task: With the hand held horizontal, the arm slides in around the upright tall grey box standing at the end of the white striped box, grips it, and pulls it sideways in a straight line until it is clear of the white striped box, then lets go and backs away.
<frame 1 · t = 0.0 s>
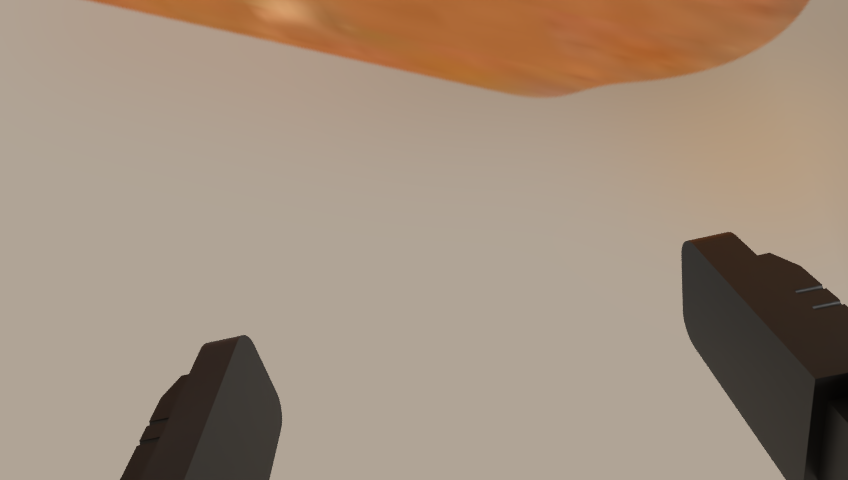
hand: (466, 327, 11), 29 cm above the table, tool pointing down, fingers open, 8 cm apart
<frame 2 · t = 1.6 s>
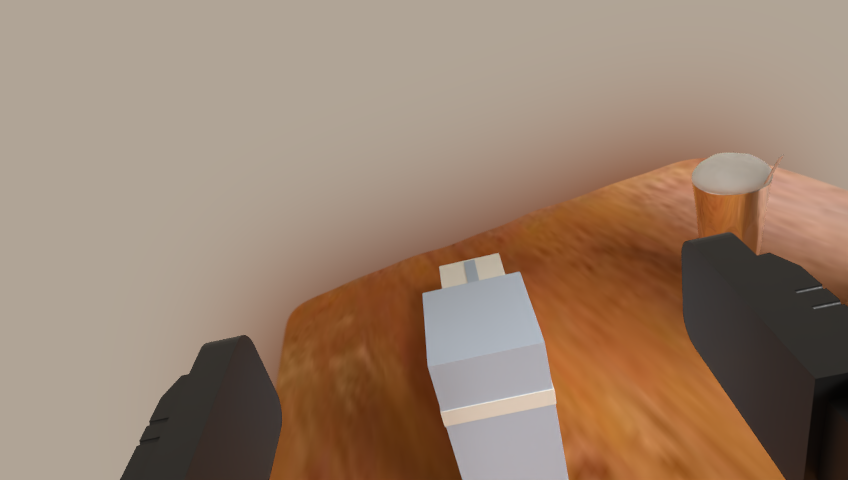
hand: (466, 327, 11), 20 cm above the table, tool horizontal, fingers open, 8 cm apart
milkshake: (734, 283, 41), on the table
tall grey box: (501, 417, 27), point 6 cm above the table, slide at 0.0 cm
white striped box: (486, 341, 38), on the table
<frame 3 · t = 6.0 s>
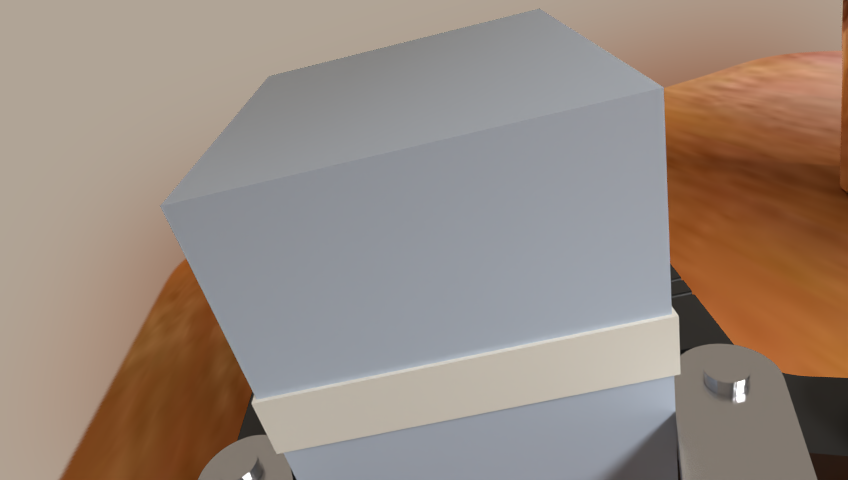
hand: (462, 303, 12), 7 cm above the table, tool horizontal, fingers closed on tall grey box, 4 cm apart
tall grey box: (487, 421, 10), point 6 cm above the table, slide at 0.0 cm, touching gripper
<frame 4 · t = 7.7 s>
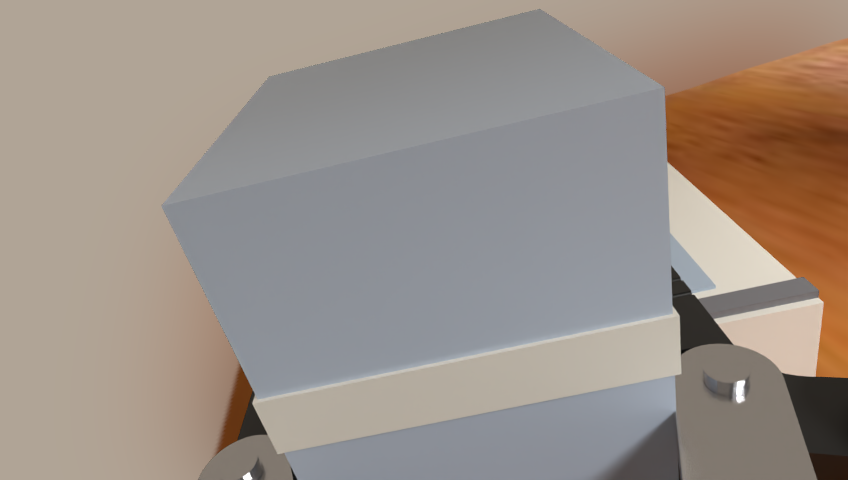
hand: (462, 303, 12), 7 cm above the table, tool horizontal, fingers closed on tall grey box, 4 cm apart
tall grey box: (488, 421, 10), point 6 cm above the table, slide at 5.7 cm, touching gripper
white striped box: (630, 250, 21), on the table
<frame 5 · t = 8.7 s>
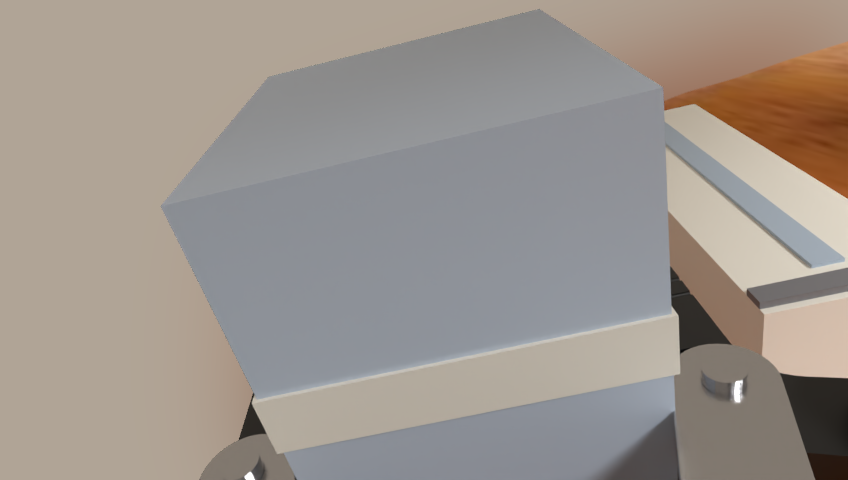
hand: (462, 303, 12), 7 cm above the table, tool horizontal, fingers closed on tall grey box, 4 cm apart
tall grey box: (487, 421, 10), point 6 cm above the table, slide at 8.9 cm, touching gripper
white striped box: (722, 230, 20), on the table
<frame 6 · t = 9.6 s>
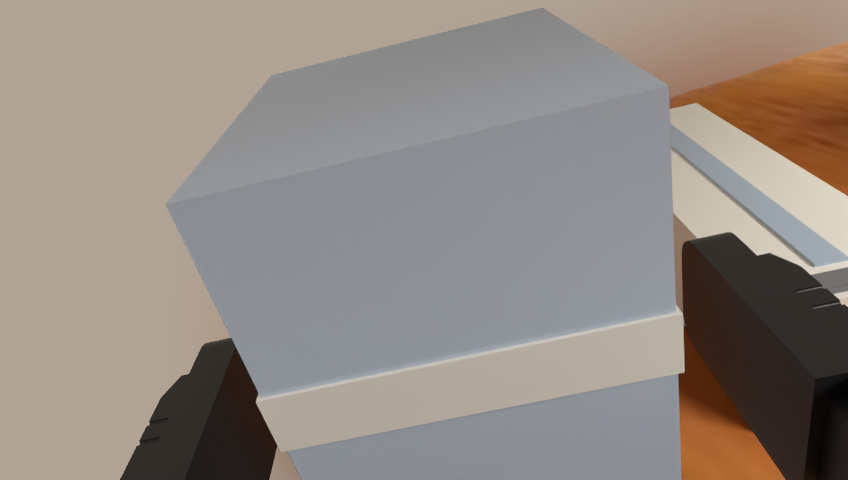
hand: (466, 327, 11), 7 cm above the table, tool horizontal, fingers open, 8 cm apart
tall grey box: (490, 420, 10), point 6 cm above the table, slide at 8.9 cm
white striped box: (724, 229, 20), on the table
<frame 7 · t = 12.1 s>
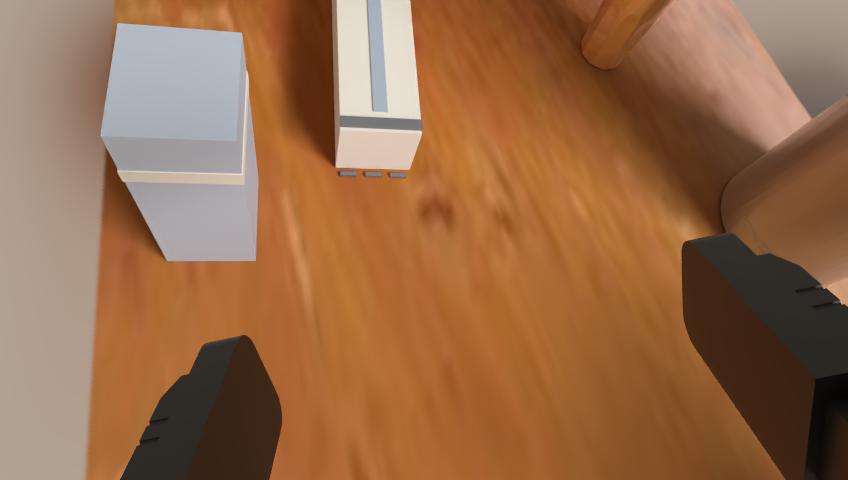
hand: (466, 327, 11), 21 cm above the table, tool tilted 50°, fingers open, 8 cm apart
milkshake: (602, 58, 44), on the table
tall grey box: (199, 163, 27), point 6 cm above the table, slide at 8.9 cm
white striped box: (372, 56, 37), on the table
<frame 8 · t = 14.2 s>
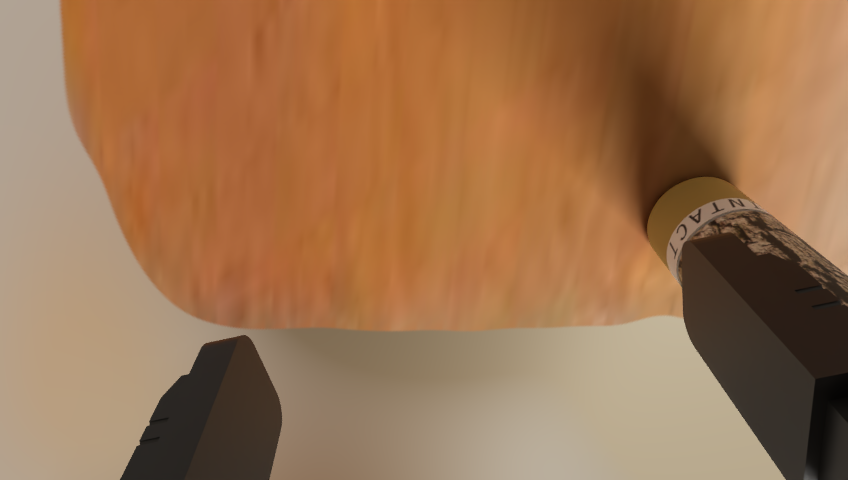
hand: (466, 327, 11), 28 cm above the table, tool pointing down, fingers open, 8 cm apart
paper tube: (689, 216, 42), on the table
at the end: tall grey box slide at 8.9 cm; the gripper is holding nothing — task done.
